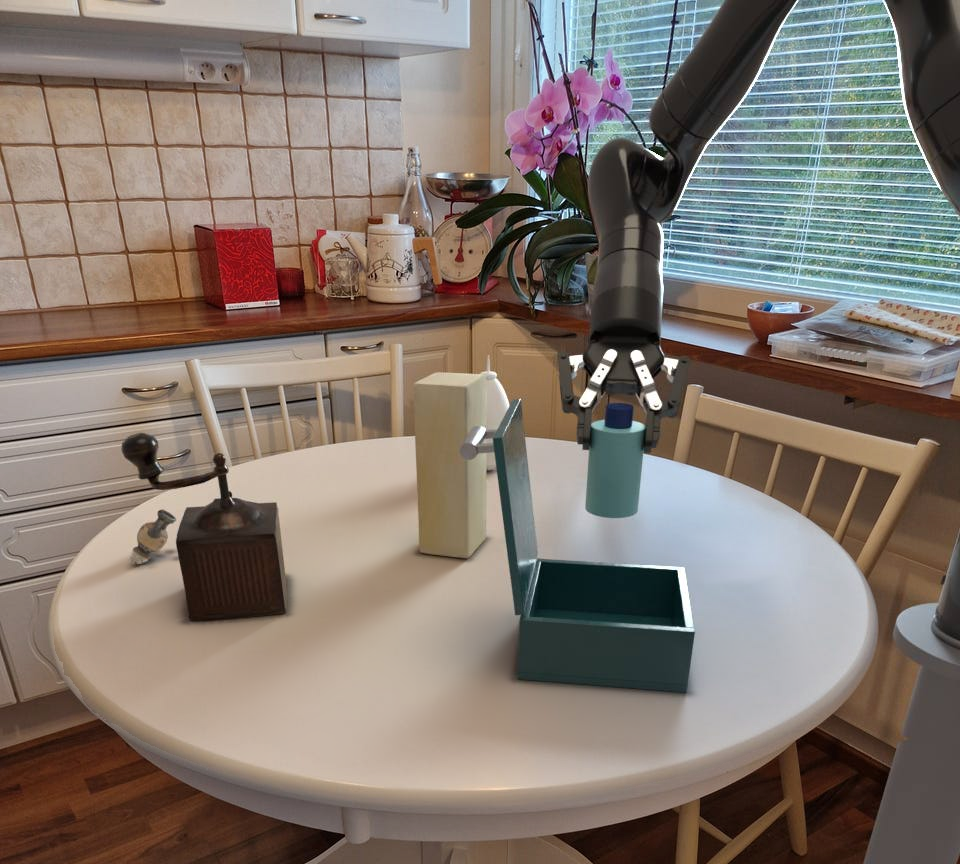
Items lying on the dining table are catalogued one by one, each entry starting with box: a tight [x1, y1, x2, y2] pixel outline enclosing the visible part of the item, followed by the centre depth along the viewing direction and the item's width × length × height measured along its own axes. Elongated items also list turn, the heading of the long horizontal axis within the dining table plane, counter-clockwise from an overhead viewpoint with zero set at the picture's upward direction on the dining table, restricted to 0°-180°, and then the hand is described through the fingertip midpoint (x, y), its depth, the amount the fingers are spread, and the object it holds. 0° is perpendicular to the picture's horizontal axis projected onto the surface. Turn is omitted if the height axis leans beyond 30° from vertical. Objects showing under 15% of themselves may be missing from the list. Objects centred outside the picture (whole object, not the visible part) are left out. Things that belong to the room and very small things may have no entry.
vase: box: [129, 508, 177, 565], centre depth 104 cm, size 5×5×6 cm
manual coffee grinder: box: [120, 432, 288, 622], centre depth 91 cm, size 16×11×18 cm
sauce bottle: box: [479, 354, 510, 471], centre depth 135 cm, size 8×8×18 cm
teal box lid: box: [460, 398, 539, 616], centre depth 80 cm, size 16×15×5 cm
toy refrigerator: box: [412, 371, 487, 559], centre depth 104 cm, size 8×7×21 cm
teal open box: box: [517, 558, 696, 693], centre depth 84 cm, size 16×15×6 cm
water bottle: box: [584, 402, 646, 519], centre depth 88 cm, size 6×6×11 cm
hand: (617, 447), depth 86 cm, fingers closed on water bottle, 5 cm apart
